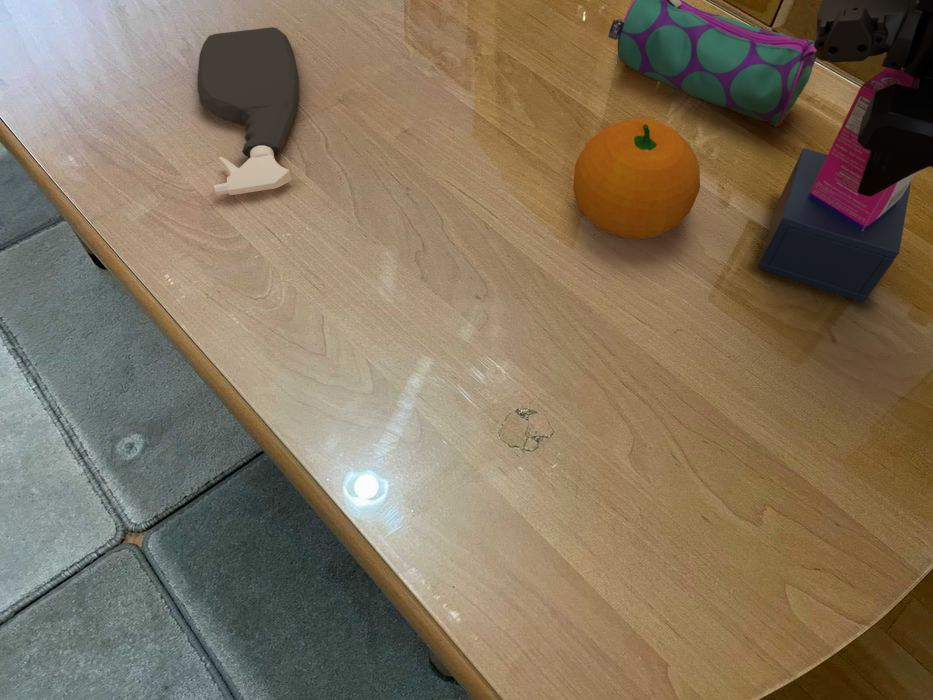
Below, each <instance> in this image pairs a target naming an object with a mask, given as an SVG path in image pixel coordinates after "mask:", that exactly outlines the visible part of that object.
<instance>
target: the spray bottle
mask: <svg viewBox="0 0 933 700" xmlns="http://www.w3.org/2000/svg"><path fill="white" fill-rule="evenodd" d="M197 93H198V96H199V101H200V103H201V104H202V106H204V108H205V110H206V111H207V112H209V113H211V114H212V115H214V116H216V117H218V118H220V119H222V120H223V121H226V122H230V123H233V124H236V125H241V126H244V128H245V132H246V133H245V135H244V140H245V143H244V145H243V147H242V150H241V153H242V154H243V156H245V157H247V158H248V159H247V160H246V161H245V162H244V163H243V164H242V165H241V166H240V167H237V166H236V165H235V164H233V163H232V162H230V161H229V160H228V159H226V158H225V157H223V156H219V157H218V161H219V162H220V163H221V165H222V166H223V167H224V168H225V169H226V170H227V172H228V173H229V175H228V176H227V177H226V182H222V183H218V184H214V185H213V191H214V193H215V196H221V195H228V194H229V196H233V195H240V194H241V195H242V194H248V193H253V192H259V191H266V190H273V189H277V188H278V189H279V187H282V186H283V185H285V184H287V183H289V182H291V181H292V177H291V172H290V169H288V168H286V167H283V166H282V165H280V164H279V163H278V162H277V160H276V159H275V157H277V156H279V155H280V154H281V152H282V151H283V148H284V145H285V144H286V141H287V139H288V137H289V134H290V132H291V130H292V127H293V125H294V122H295V119H296V116H297V113H298V108H299V101H300V76H299V71H298V66H297V61H296V56H295V52H294V50H293V47H292V45H291V42H290V40H289V38H288V36H287V35H286V34H285V33H284V32H283V31H281V30H280V29H278V28H277V27H274V26H273V27H272V26H270V27H263V28H261V27H260V28H254V29H253V28H252V29H246V30H245V29H244V30H236V31H230V32H229V31H227V32H219V33H214V34H211V35H210V34H209V35H208V37H206V39H205V41H204V42H203V44H202V47H201V49H200V53H199V58H198V69H197Z"/></svg>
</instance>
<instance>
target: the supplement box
mask: <svg viewBox="0 0 933 700" xmlns="http://www.w3.org/2000/svg"><path fill="white" fill-rule="evenodd" d="M912 81H913V77H912V76H910V75H908V74H906V73H904V71H903V70H894V69H890V68H886V67H884V69H882V70H881V71H879V72H878V73H877V74H875V75H874V76H872V78H870V79H868V80H867V81H866V82H864V83H863V84H861V86H859V89H858V91H857V94H856V96H855V98H854V100H853V102H852V104H851V106H850V108H849V110H848V112H847V114H846V116H845V119H844V121H843V123H842V124H841V127H840V129H839V131H838V133H837V134H836V137H835V139H834V141H833V143H832V145H831V147H830V149H829V151H828V153H827V157H826V159H825V161H824V163H823V166H822V168H821V170H820V172H819V174H818V176H817V178H816V180H815V182H814V184H813V186H812V188H811V190H810V192H809V194H808V196H809V197H810V198H812V199H813V200H815V201H817V202H818V203H820V204H821V205H823V206H824V207H826V208H828V209H829V210H831V211H832V212H834V213H835V214H837V215H839V216H840V217H842V218H843V219H845V220H846V221H848V222H849V223H851V224H852V225H854V226H855V227H857V228H858V229H860V230H861V231H864V230H866V229H867V228H868V227H869V226H871V225H872V224H873V223H874V222H876V221H877V220H878V219H879V218H880V217H882V216H883V215H884V214H885V213H886V212H888V211H889V210H890V209H891V208H892V207H893V206H894V205H896V204H897V203H898V202H899V201H900V199H901V197H902V195H903V194H904V192H905V190H906V189H907V187H908V185H909V184H910V182H911V183H912V181H913V179H914V177H915V176H916V174H917V172H916V173H914V174H912V175H910V176H908V177H906V178H904V179H902V180H901V181H899V182H897V183H895V184H893V185H891V186H890V187H888V188H886V189H884V190H882V191H881V192H879V193H877V194H875V195H873V196H871V197H869V196H865V195H862V194H859V193H858V188H859V184H860V181H861V178H862V175H863V172H864V169H865V166H866V162H867V159H868V156H869V153H870V150H869V149H865V148H863V147H862V146H861V145H860V144H859V143H858V142H857V139H858V134H859V130H860V126H861V122H862V118H863V116H864V114H865V112H866V109H867V107H868V104H869V102H870V101H871V99H872V97H873V95H874V93H875V91H878V90H880V89H883V88H885V87H888V86H890V85H893V84H899V85H903V86H907V87H911V86H912Z"/></svg>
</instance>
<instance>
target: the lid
mask: <svg viewBox="0 0 933 700" xmlns="http://www.w3.org/2000/svg"><path fill="white" fill-rule="evenodd" d="M827 155H828V153H827V154H826V153H823V152H820V151H817V150H813V149H809V148H806V147H803V148H802V150H801V152H800V153H799V157H798V159H799V160H798V159H797V161H798V164H797V167H796V170H795V174H794V177H793V180H792V184H791V187H790V190H789V194H788V197H787V201H786V204H785V207H784V211H783V214H782V217H781V221H780V224H782V225H785V226H789V227H792V228H795V229H799V230H802V231H805V232H808V233H812V234H815V235H818V236H821V237H825V238H828V239H831V240H835V241H838V242H841V243H844V244H848V245H851V246H854V247H857V248H861V249H864V250H867V251H871V252H874V253H877V254H880V255H884V256H887V257H890V258H893V259H895V260H896V258H897V257H898V255H899V254H900V250H901V244H902V238H903V233H904V227H905V226H904V225H905V220H906V214H907V208H908V203H909V197H910V191H911V184H912V181H911V182H910V184H909V185H908V187H907V189H906V190H905V192H904V194H903V195H902V197H901V199H900V201H899V202H898V203H897V204H896V205H894V206H893V207H892V208H891V209H890V210H889V211H888V212H886V213H885V214H884V215H883V216H882V217H880V218H879V219H878V220H877V221H876V222H874V223H873V224H872V225H871V226H869V227H868V228H867V229H866V230H864V231H861V230H860V229H858V228H857V227H855V226H854V225H852V224H851V223H849V222H848V221H846V220H845V219H843V218H842V217H840V216H839V215H837V214H835V213H834V212H832V211H831V210H829V209H828V208H826V207H824V206H823V205H821V204H820V203H818V202H817V201H815V200H813V199H812V198H810V197H809V196H808V194H809V192H810V190H811V188H812V186H813V184H814V182H815V180H816V178H817V176H818V174H819V172H820V170H821V168H822V166H823V163H824V161H825V159H826V157H827Z"/></svg>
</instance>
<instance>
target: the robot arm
mask: <svg viewBox="0 0 933 700" xmlns="http://www.w3.org/2000/svg"><path fill="white" fill-rule="evenodd" d="M814 42H815V43H814V47H815V49H816V59H817V60H819V61H823V62H829V63H831V64H832V63H833V64H834V63H835V64H836V63H851V62H864V61H866V60H867V58H869V57H876V56H877V57H878V56H880V55H883V54H885V55H884V57H883V59H882V63H881V67H883V68H890V69H894V70H903V71H904V73H906V74H908V75H910V76H912V77H913V81H912V86H911V87H907V86H903V85H899V84H893V85H890V86H888V87H885V88H883V89H880V90H878V91H875V93H874V95H873V97H872V99H871V101H870V102H869V104H868V107H867V109H866V112H865V114H864V116H863V118H862V122H861V126H860V130H859V134H858V139H857V142H858V143H859V144H860V145H861V146H862V147H863V148H865V149H869V150H870V153H869V156H868V159H867V162H866V166H865V169H864V172H863V175H862V178H861V181H860V184H859V188H858V193H859V194H862V195H865V196H869V197H871V196H873V195H875V194H877V193H879V192H881V191H882V190H884V189H886V188H888V187H890V186H891V185H893V184H895V183H897V182H899V181H901V180H902V179H904V178H906V177H908V176H910V175H912V174H914V173H916V174H917V173H918V172H920V171H922V170H925V169H927V168H933V0H821V3H820V6H819V9H818V12H817V15H816V37H815V39H814Z"/></svg>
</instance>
